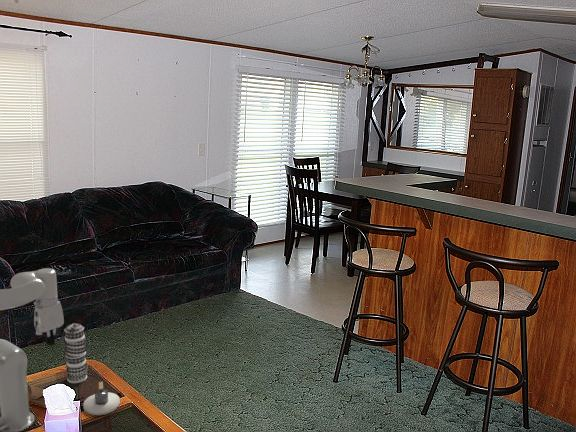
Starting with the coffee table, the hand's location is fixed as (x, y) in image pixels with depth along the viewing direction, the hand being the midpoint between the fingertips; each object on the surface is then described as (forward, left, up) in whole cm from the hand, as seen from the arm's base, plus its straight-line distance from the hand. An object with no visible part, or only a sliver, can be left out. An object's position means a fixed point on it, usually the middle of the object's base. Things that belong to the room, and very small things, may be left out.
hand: (50, 344), depth 214 cm
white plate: (+9, -16, -27) cm, 33 cm away
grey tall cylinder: (+20, +7, -27) cm, 35 cm away
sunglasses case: (0, +9, -28) cm, 29 cm away
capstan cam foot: (+10, -15, -25) cm, 31 cm away
